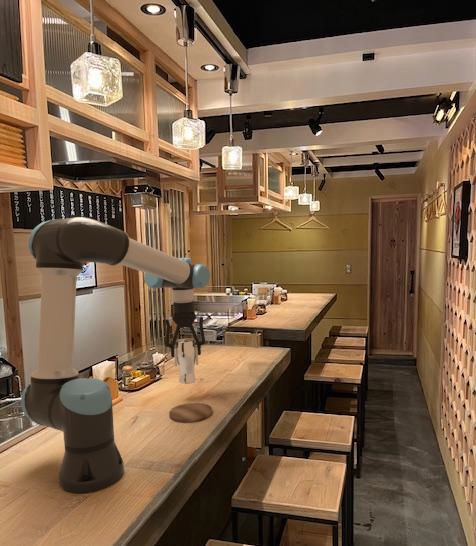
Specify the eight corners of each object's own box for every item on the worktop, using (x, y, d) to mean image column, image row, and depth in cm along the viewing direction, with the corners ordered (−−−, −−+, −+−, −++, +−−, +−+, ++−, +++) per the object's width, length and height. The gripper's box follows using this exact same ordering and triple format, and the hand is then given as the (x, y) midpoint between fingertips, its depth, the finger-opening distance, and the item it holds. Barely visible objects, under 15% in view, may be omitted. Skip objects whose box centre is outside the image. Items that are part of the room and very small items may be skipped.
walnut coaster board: (191, 426, 138) (191, 422, 137) (160, 417, 146) (160, 413, 146) (220, 411, 149) (220, 407, 149) (189, 403, 157) (189, 400, 157)
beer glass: (193, 384, 156) (191, 342, 155) (174, 384, 158) (172, 342, 157) (199, 378, 163) (197, 338, 162) (181, 378, 165) (179, 338, 164)
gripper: (210, 298, 164) (213, 360, 165) (155, 301, 161) (159, 364, 162) (211, 300, 156) (214, 365, 158) (154, 304, 154) (158, 369, 155)
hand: (186, 364), depth 160 cm, fingers closed on beer glass, 7 cm apart
